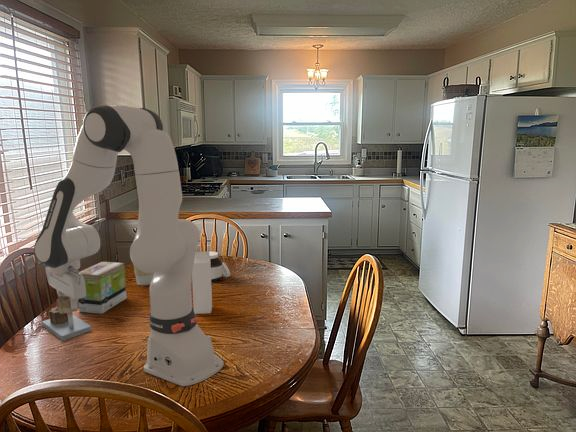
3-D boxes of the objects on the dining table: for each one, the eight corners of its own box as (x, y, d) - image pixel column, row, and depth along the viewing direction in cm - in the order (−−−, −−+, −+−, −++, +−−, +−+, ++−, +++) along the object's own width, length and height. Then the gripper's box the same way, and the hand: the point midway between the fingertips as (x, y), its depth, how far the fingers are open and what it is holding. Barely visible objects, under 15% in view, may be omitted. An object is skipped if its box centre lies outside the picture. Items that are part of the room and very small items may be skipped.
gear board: (91, 330, 136) (89, 311, 134) (62, 340, 129) (60, 321, 128) (70, 316, 146) (68, 299, 145) (42, 325, 139) (40, 307, 138)
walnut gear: (75, 318, 141) (74, 307, 140) (57, 325, 136) (56, 314, 135) (64, 315, 144) (63, 304, 143) (46, 321, 139) (45, 310, 138)
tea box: (103, 314, 148) (99, 274, 145) (78, 312, 150) (74, 273, 147) (127, 298, 162) (124, 261, 159) (104, 296, 164) (101, 260, 161)
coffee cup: (160, 281, 181) (158, 247, 178) (143, 287, 173) (141, 252, 170) (146, 277, 185) (144, 244, 183) (129, 283, 178) (126, 249, 175)
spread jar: (196, 279, 183) (195, 254, 181) (214, 272, 192) (213, 248, 190) (217, 284, 177) (216, 258, 174) (234, 277, 186) (233, 251, 184)
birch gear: (82, 309, 134) (81, 297, 133) (62, 315, 129) (61, 303, 128) (74, 304, 138) (73, 292, 137) (54, 310, 133) (53, 298, 132)
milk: (210, 313, 149) (208, 253, 144) (193, 314, 148) (190, 254, 143) (212, 306, 154) (210, 249, 150) (195, 307, 154) (193, 249, 149)
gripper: (89, 268, 126) (93, 310, 129) (61, 255, 139) (65, 294, 142) (67, 273, 121) (72, 317, 124) (40, 259, 134) (45, 299, 137)
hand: (68, 305), depth 133 cm, fingers closed on birch gear, 6 cm apart
